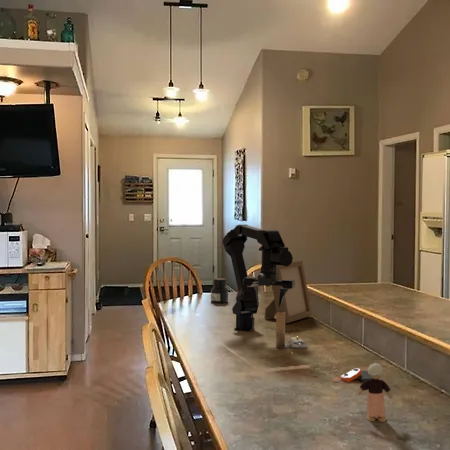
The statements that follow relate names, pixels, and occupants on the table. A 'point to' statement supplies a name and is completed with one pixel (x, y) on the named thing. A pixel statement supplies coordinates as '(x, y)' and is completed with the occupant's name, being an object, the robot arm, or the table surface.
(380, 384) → the grandmother figurine
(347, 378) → the multimeter
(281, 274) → the photo frame
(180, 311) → the table surface
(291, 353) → the stand plate
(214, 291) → the ink bottle
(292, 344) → the brown cylinder with ball
